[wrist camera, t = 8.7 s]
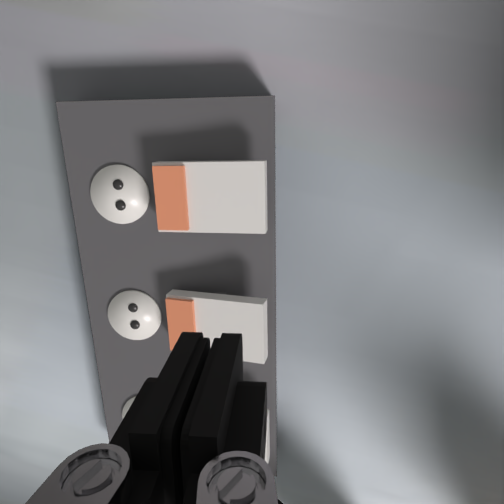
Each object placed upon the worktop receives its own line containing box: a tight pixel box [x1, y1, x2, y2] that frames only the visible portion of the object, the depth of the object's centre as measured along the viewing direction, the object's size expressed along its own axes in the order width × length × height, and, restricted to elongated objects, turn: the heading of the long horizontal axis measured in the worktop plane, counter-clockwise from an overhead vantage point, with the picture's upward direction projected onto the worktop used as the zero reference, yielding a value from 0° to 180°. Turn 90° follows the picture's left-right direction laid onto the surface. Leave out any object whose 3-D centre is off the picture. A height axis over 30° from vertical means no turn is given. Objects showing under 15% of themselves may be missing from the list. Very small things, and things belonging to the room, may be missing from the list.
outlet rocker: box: [165, 289, 268, 364], centre depth 27 cm, size 7×4×1 cm, turn 92°
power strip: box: [56, 96, 277, 476], centre depth 31 cm, size 14×39×4 cm, turn 1°
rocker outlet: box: [152, 160, 268, 234], centre depth 25 cm, size 7×4×1 cm, turn 91°
